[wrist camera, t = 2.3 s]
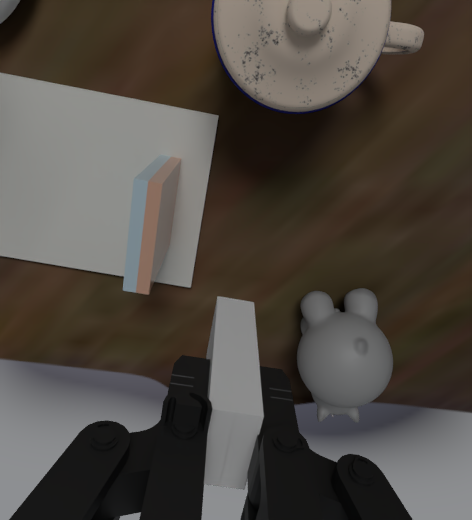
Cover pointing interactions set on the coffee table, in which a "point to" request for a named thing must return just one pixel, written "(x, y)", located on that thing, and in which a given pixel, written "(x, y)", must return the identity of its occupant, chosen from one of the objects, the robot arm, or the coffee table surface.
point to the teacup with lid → (305, 48)
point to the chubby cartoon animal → (343, 352)
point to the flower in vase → (7, 8)
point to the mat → (94, 175)
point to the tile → (150, 222)
